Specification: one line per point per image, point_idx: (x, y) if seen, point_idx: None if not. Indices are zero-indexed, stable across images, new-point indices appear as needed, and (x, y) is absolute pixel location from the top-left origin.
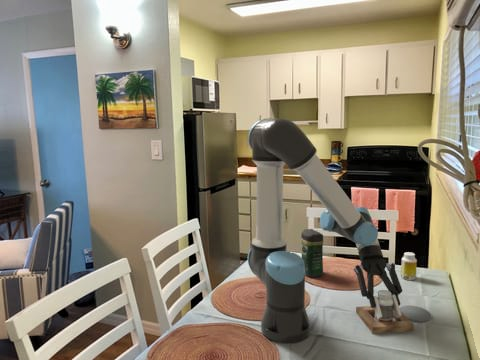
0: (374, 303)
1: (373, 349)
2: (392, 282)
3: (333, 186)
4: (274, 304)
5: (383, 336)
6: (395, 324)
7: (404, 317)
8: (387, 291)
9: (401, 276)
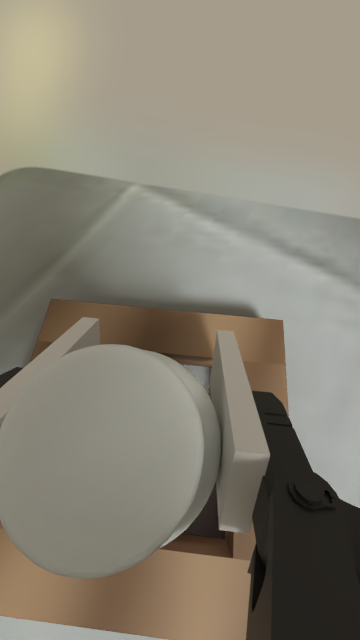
0: (258, 411)
1: (309, 238)
2: None
3: None
4: None
5: (229, 303)
6: (145, 319)
7: None
8: (29, 467)
9: None
